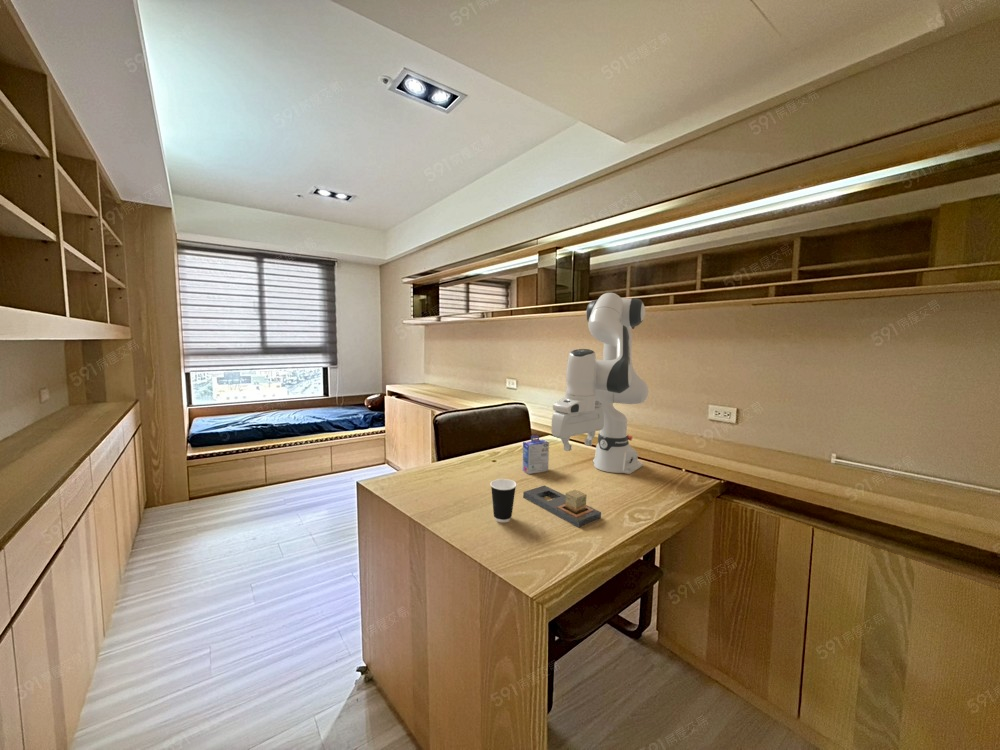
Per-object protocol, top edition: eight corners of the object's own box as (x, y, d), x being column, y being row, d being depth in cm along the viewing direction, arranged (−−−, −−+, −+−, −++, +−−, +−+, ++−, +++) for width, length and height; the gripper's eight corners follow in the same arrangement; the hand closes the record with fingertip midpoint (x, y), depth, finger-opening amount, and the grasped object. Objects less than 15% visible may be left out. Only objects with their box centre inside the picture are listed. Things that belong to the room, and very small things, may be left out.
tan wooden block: (574, 510, 121) (575, 489, 121) (585, 516, 118) (586, 494, 117) (564, 514, 119) (565, 492, 118) (575, 520, 115) (576, 498, 114)
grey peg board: (544, 490, 136) (544, 484, 136) (600, 518, 116) (601, 511, 116) (523, 497, 130) (523, 491, 130) (578, 527, 110) (579, 520, 110)
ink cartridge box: (542, 467, 161) (543, 433, 159) (549, 471, 156) (550, 437, 154) (521, 470, 157) (522, 435, 155) (528, 474, 152) (529, 439, 150)
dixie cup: (484, 518, 115) (484, 483, 114) (503, 510, 120) (503, 476, 119) (502, 528, 109) (503, 491, 108) (521, 519, 115) (522, 484, 114)
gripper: (594, 398, 123) (592, 440, 125) (548, 404, 111) (547, 450, 112) (610, 401, 118) (608, 444, 120) (564, 408, 106) (562, 456, 107)
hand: (578, 447), depth 116 cm, fingers open, 8 cm apart
